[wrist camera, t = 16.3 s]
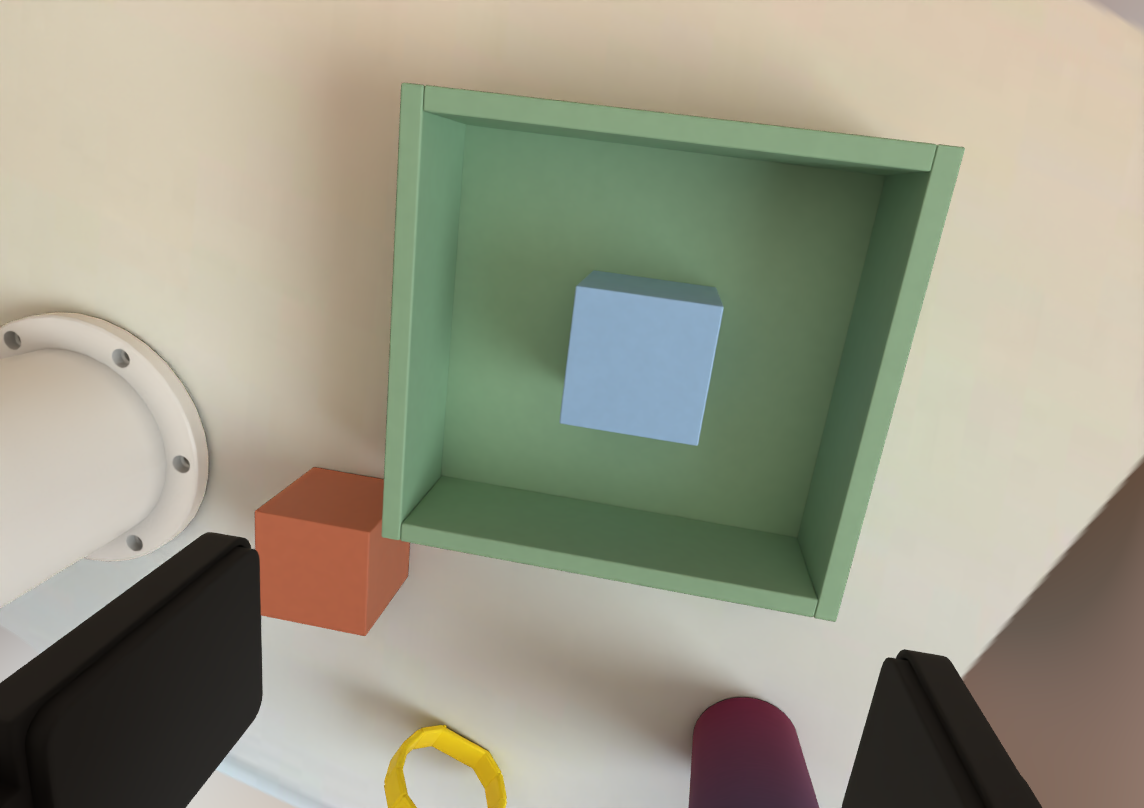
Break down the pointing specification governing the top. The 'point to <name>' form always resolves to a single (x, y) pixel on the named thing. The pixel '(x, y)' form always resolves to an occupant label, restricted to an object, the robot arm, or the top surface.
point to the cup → (748, 759)
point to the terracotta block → (328, 552)
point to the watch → (454, 747)
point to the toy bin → (667, 252)
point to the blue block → (640, 356)
